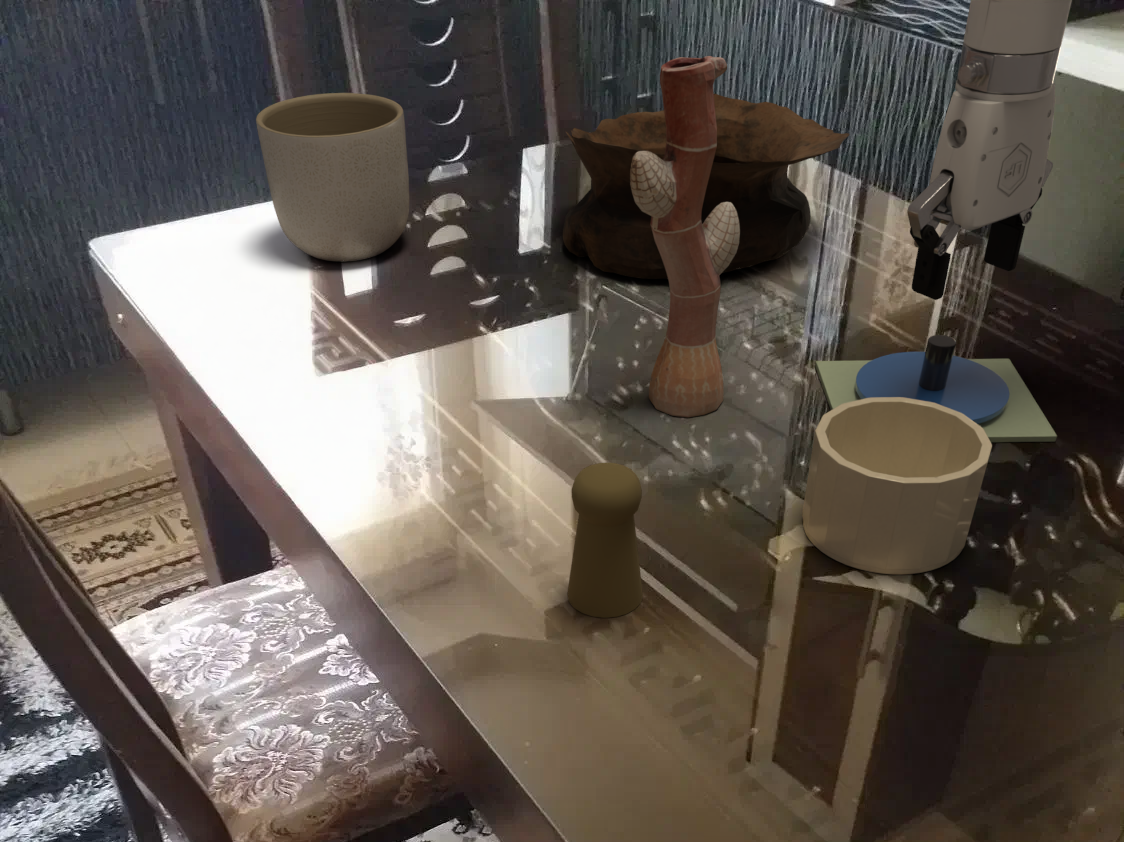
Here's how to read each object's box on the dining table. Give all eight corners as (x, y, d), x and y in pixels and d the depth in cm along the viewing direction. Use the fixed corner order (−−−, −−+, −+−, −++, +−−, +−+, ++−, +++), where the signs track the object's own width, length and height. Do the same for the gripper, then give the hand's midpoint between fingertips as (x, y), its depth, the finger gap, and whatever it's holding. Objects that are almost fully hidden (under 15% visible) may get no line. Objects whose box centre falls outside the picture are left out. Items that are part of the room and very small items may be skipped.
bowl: (503, 254, 146) (495, 121, 136) (682, 203, 163) (686, 82, 153) (705, 313, 125) (712, 162, 116) (886, 248, 142) (905, 111, 133)
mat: (1007, 363, 119) (1009, 358, 119) (1055, 441, 108) (1057, 436, 107) (814, 366, 119) (815, 360, 119) (842, 444, 108) (843, 438, 107)
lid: (983, 361, 118) (997, 307, 114) (1025, 432, 108) (1042, 375, 104) (842, 363, 118) (851, 309, 114) (869, 434, 108) (880, 377, 104)
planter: (426, 265, 139) (413, 129, 129) (285, 281, 136) (260, 142, 126) (405, 216, 151) (392, 87, 140) (275, 229, 148) (251, 99, 138)
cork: (629, 624, 89) (633, 501, 81) (556, 608, 90) (553, 486, 82) (652, 580, 93) (658, 459, 85) (581, 566, 94) (581, 445, 86)
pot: (943, 484, 102) (966, 395, 97) (984, 573, 93) (1012, 481, 87) (791, 486, 103) (804, 397, 97) (816, 575, 93) (832, 483, 87)
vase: (721, 380, 117) (751, 44, 96) (734, 415, 112) (769, 68, 91) (618, 385, 117) (626, 48, 96) (627, 421, 111) (637, 72, 90)
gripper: (970, 100, 87) (929, 320, 99) (1113, 57, 94) (1058, 268, 106) (896, 80, 92) (865, 292, 104) (1038, 41, 99) (993, 244, 111)
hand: (963, 280), depth 105 cm, fingers open, 9 cm apart
